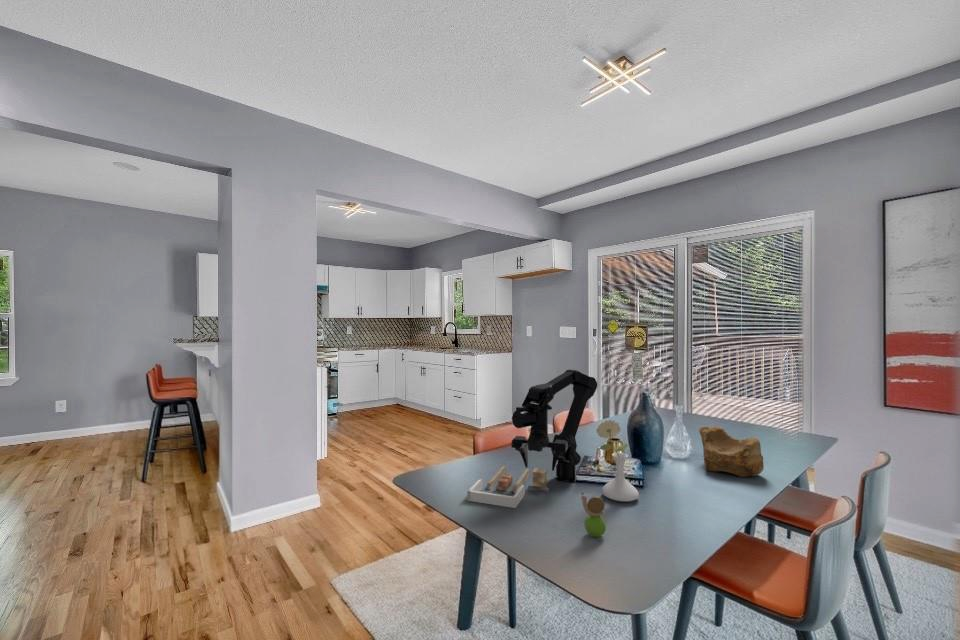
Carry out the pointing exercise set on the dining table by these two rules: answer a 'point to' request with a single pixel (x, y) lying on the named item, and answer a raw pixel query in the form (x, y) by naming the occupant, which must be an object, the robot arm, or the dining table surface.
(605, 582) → the dining table surface
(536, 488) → the scraper
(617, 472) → the flower in vase
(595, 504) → the snail figurine
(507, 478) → the brown cube
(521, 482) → the channel
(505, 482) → the chip
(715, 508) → the dining table surface
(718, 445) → the rough brown rock
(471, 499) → the tray
